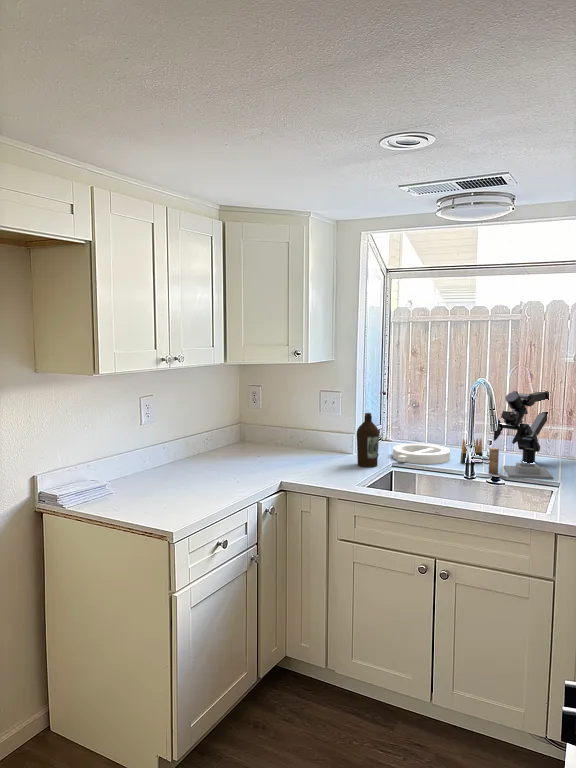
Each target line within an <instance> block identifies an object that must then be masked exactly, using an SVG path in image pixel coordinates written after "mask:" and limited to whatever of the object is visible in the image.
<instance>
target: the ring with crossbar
mask: <svg viewBox="0 0 576 768" xmlns="http://www.w3.org/2000/svg"><path fill="white" fill-rule="evenodd" d="M392 458H393V459H395V460H396V461H397V462H401V463H407V464H408V463H409V464H417V465H435V464H444V463H448V462H450V459H451V450H450V449H449V448H448V447H446V446H441V445H438V444H432V443H431V444H430V443H403V444H397V445H394V446H392Z"/></svg>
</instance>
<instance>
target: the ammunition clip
mask: <svg viewBox="0 0 576 768" xmlns="http://www.w3.org/2000/svg"><path fill="white" fill-rule="evenodd" d="M473 439H474V447H475V453H476V455H479V456H482V457H483V440H482V438H481V437H480V439H479V438H476V439H475V438H473ZM466 444H467V439H466V440H465V439H464V438H463V439H462V445H461V453H460V464H464V463H465V458H466V451H467V449H466ZM465 464H466V463H465Z"/></svg>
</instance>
